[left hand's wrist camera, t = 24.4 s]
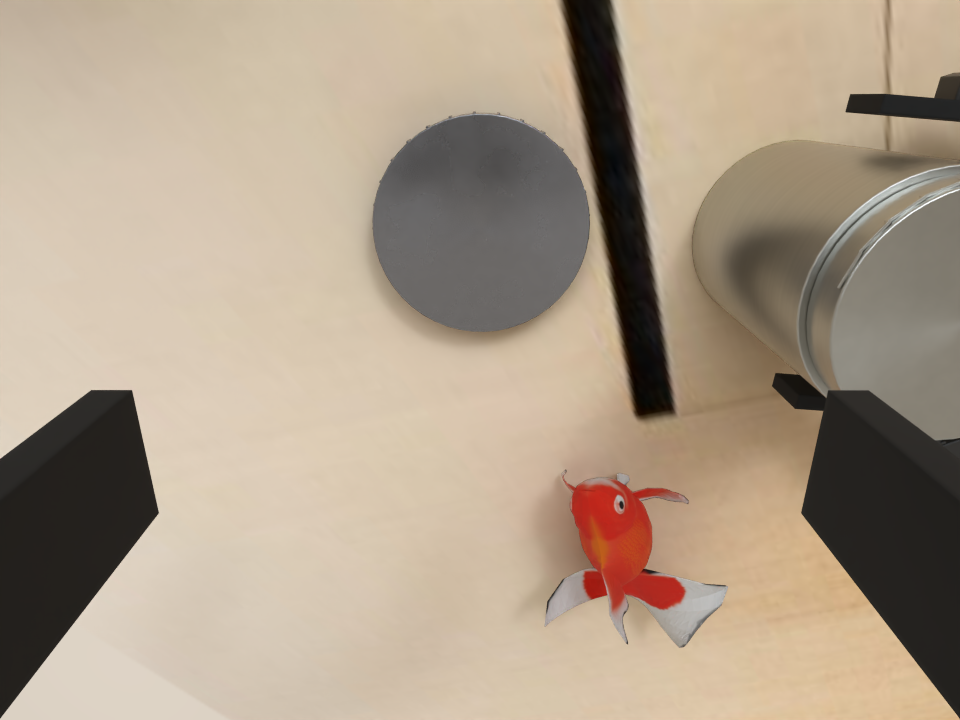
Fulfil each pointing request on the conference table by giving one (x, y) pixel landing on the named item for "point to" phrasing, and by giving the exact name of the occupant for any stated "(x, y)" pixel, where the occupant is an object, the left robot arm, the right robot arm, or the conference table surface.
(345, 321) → the conference table surface
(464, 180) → the lid
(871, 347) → the jar
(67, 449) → the left robot arm
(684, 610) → the fish
